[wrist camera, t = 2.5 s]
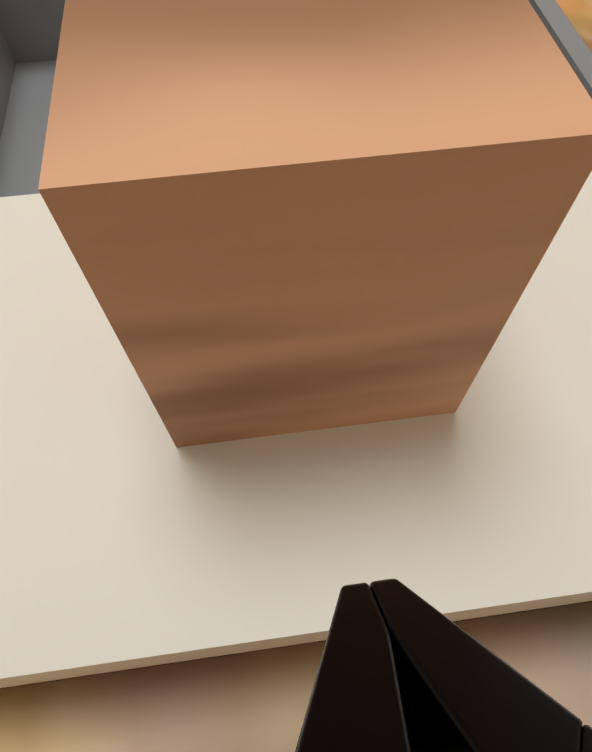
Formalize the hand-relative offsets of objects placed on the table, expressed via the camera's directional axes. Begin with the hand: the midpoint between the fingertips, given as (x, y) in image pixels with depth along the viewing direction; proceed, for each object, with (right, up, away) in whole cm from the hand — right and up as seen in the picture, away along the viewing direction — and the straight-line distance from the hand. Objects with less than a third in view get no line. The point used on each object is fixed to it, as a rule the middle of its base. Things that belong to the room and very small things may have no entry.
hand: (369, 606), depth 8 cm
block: (-1, +5, +7) cm, 9 cm away
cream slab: (-1, +3, +9) cm, 10 cm away
